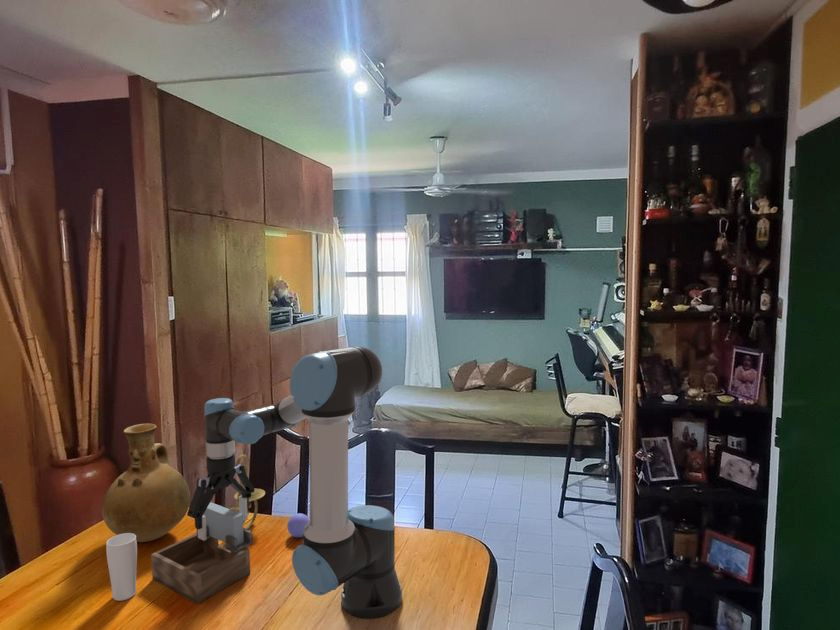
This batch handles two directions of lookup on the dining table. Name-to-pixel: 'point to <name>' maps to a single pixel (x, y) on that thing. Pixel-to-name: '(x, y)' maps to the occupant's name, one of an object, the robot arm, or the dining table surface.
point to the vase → (146, 490)
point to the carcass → (202, 565)
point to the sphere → (297, 524)
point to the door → (224, 523)
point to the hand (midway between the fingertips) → (223, 528)
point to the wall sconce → (254, 496)
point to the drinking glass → (122, 565)
